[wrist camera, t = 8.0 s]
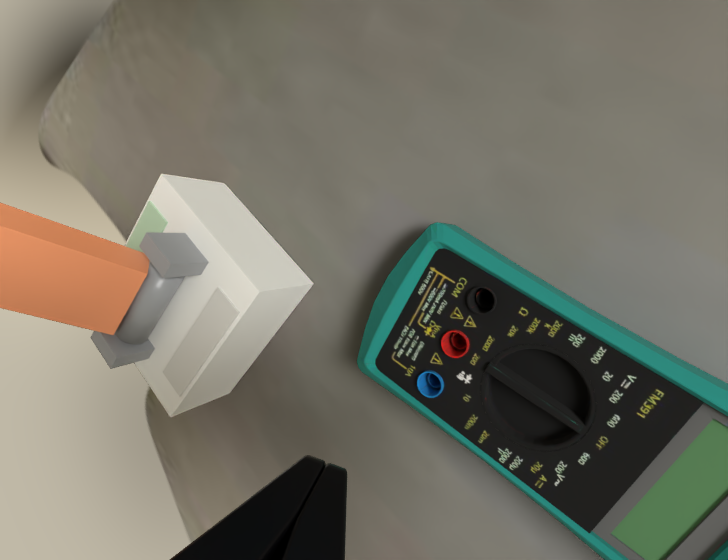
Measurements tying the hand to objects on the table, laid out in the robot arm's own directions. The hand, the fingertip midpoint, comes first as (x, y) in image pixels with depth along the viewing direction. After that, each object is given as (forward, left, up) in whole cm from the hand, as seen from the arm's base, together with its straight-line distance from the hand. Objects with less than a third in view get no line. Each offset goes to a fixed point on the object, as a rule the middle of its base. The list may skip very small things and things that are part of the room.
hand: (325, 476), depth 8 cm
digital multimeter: (-2, -2, -12) cm, 13 cm away
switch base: (+7, +13, -12) cm, 18 cm away
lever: (+7, +13, -7) cm, 16 cm away
